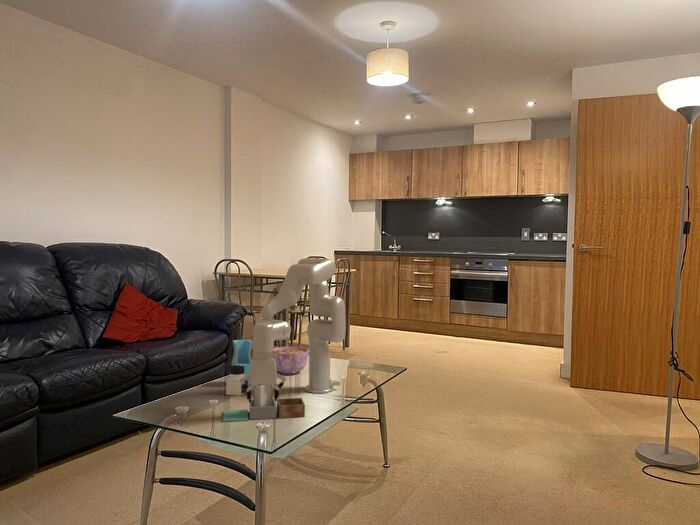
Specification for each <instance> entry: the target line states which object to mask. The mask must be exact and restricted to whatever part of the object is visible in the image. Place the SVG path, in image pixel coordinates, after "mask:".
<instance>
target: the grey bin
mask: <svg viewBox="0 0 700 525" xmlns="http://www.w3.org/2000/svg"><path fill="white" fill-rule="evenodd" d="M253 400H254V399H251V402H249V412H248V413H249V419H250V420H252V421H253V420H268V419H271V420H272V419H277V401H275V399H274V398H272V406H260V407H253Z"/></svg>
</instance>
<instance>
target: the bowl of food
mask: <svg viewBox="0 0 700 525" xmlns="http://www.w3.org/2000/svg"><path fill="white" fill-rule="evenodd" d="M273 351H274V352H277V356H274V358H275V360H276V369H277V371H278V372H280V373H281V374H283V375H296V374H297V373H299V372H301V371H302V370H304V368H305V367H306V365H307V361H308V359H309V348H307V347H303V346H302V347H301V346H277V347H274V350H273ZM298 371H299V372H298ZM293 372H295V373H293Z"/></svg>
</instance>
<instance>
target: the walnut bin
mask: <svg viewBox="0 0 700 525" xmlns="http://www.w3.org/2000/svg"><path fill="white" fill-rule="evenodd" d="M276 406H277V412H276V414H277V416H278V419H286V418H288V419H289V418H305V417H306V416H305V415H306V413H305V412H306V405H305V402H304V399H303V397H292V398H291V397H290V398H288V397H287V398H286V397H285V398H277V401H276Z"/></svg>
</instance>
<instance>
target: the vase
mask: <svg viewBox="0 0 700 525" xmlns="http://www.w3.org/2000/svg"><path fill="white" fill-rule="evenodd" d="M232 345H233V357H232V359H231V366H233V365H242V366H244V375H246V376H247V375H248V374H249V373H250V363H251V359H252V358H251V349H252V346H253V341H251V340H250V339H235V340H232ZM249 384H250V382H249V379H248V385H249Z"/></svg>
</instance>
